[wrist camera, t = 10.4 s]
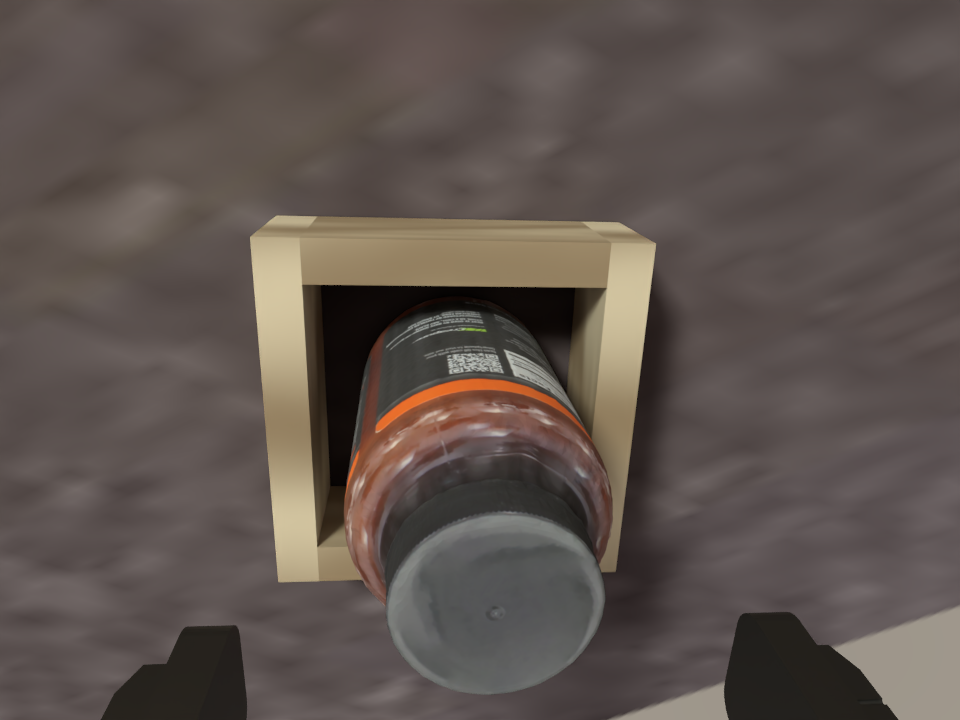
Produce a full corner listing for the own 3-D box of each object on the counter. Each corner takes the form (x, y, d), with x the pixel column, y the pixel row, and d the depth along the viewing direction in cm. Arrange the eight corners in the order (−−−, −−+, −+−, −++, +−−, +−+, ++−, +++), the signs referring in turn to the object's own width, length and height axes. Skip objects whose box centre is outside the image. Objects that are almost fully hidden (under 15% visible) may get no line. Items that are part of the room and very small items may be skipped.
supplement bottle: (424, 486, 24) (433, 787, 13) (328, 349, 22) (249, 576, 11) (575, 404, 23) (708, 650, 13) (490, 255, 21) (567, 403, 11)
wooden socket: (276, 215, 20) (249, 236, 17) (618, 222, 21) (655, 243, 18) (296, 516, 24) (278, 582, 21) (589, 510, 25) (615, 571, 22)
